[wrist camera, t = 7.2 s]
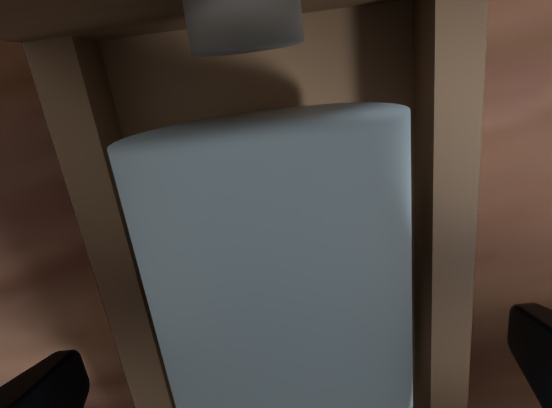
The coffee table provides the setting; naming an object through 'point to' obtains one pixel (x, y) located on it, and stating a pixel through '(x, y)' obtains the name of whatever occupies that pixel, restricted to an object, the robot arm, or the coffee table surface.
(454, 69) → the holder
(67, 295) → the coffee table surface
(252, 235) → the roll
